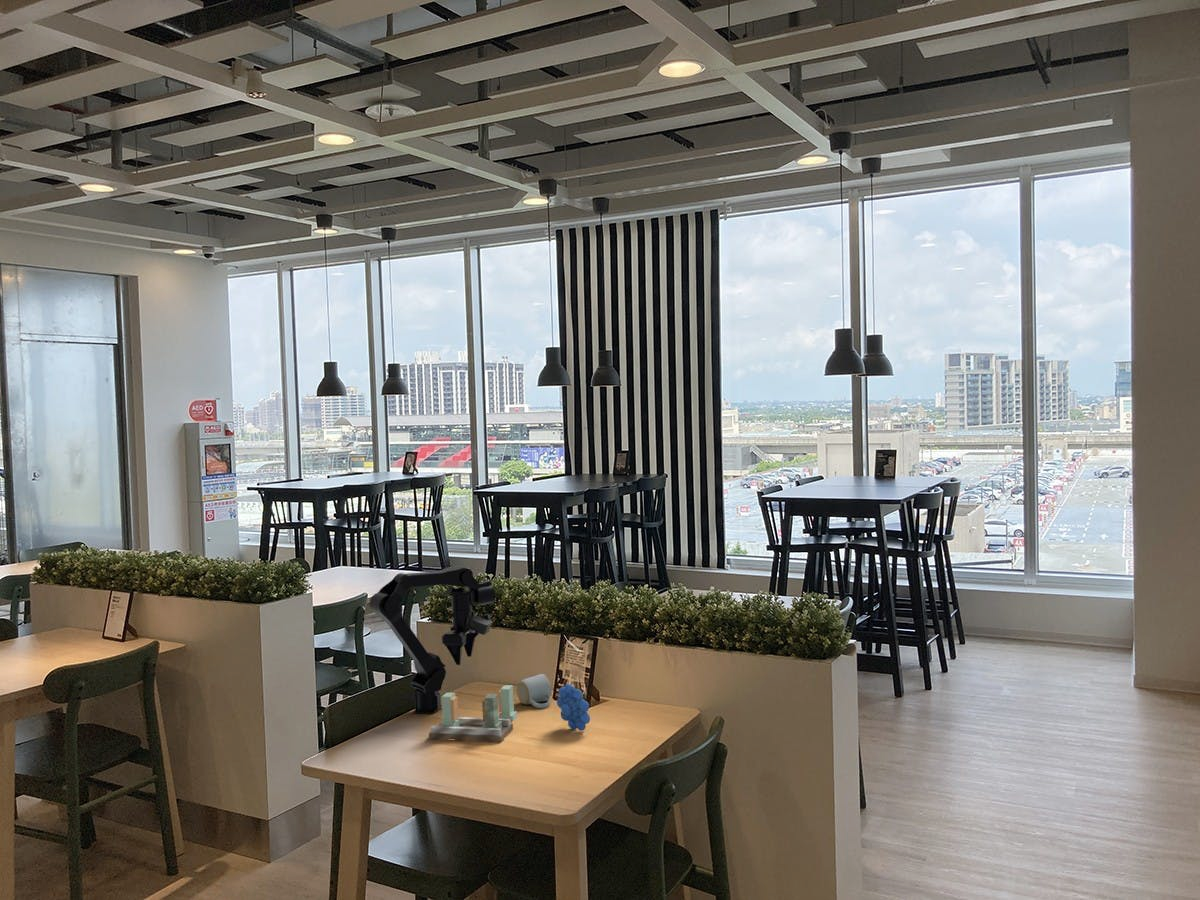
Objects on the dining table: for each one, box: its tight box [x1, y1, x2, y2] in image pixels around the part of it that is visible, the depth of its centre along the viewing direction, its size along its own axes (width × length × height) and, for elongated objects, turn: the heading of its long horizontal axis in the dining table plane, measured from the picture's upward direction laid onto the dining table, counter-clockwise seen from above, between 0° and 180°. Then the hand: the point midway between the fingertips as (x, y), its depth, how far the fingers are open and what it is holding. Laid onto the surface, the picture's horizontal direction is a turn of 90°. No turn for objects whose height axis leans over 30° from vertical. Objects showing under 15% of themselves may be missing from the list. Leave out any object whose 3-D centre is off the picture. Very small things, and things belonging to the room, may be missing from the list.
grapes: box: [556, 683, 591, 732], centre depth 257 cm, size 12×7×12 cm, turn 46°
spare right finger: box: [497, 684, 518, 722], centre depth 268 cm, size 4×4×9 cm
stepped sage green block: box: [439, 692, 460, 727], centre depth 258 cm, size 4×4×9 cm
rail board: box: [428, 693, 514, 743], centre depth 257 cm, size 20×10×10 cm, turn 77°
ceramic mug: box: [516, 673, 552, 709], centre depth 281 cm, size 11×8×8 cm
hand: (464, 660), depth 287 cm, fingers open, 9 cm apart
